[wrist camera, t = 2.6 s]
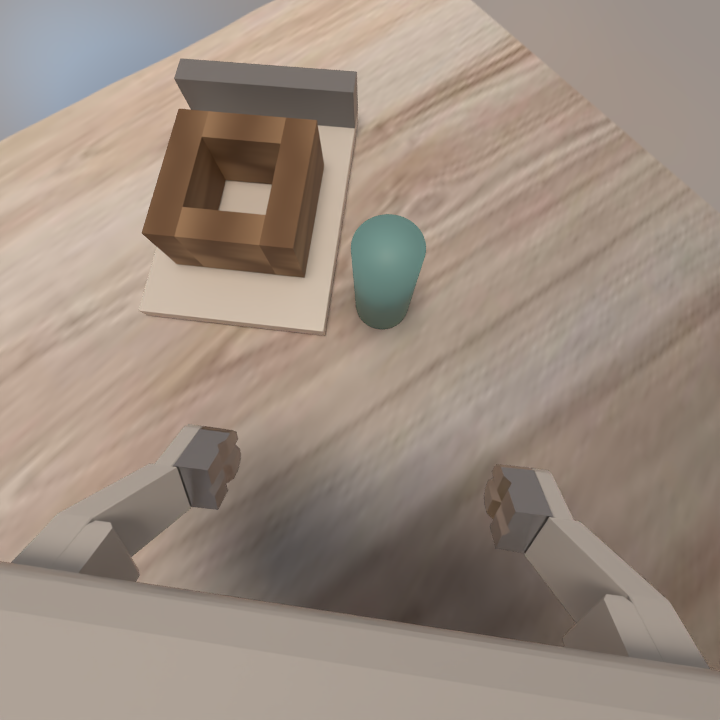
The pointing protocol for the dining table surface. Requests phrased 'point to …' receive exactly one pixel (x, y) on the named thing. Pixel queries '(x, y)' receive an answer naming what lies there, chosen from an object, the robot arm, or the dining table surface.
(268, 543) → the dining table surface
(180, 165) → the socket block
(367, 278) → the teal rounded peg
